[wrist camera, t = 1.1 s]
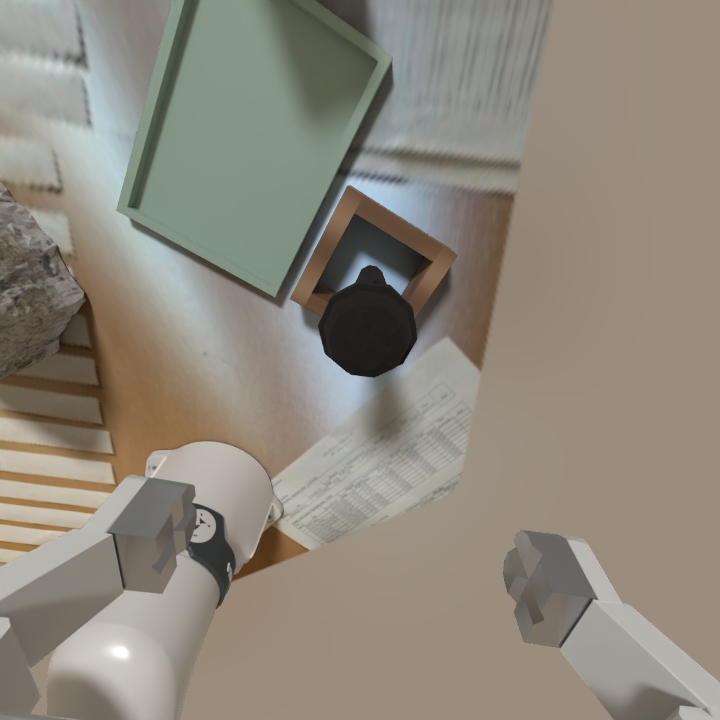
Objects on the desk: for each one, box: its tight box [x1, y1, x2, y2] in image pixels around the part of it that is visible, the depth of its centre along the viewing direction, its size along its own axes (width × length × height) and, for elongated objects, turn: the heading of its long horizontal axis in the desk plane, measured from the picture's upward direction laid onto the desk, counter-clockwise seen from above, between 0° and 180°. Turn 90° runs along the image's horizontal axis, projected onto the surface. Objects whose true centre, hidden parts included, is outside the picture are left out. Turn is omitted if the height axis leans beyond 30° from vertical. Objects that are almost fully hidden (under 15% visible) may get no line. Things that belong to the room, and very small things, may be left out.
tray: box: [116, 0, 393, 297], centre depth 32 cm, size 22×16×2 cm
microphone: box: [318, 265, 417, 378], centre depth 28 cm, size 6×6×20 cm
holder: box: [290, 186, 457, 318], centre depth 35 cm, size 11×11×4 cm
